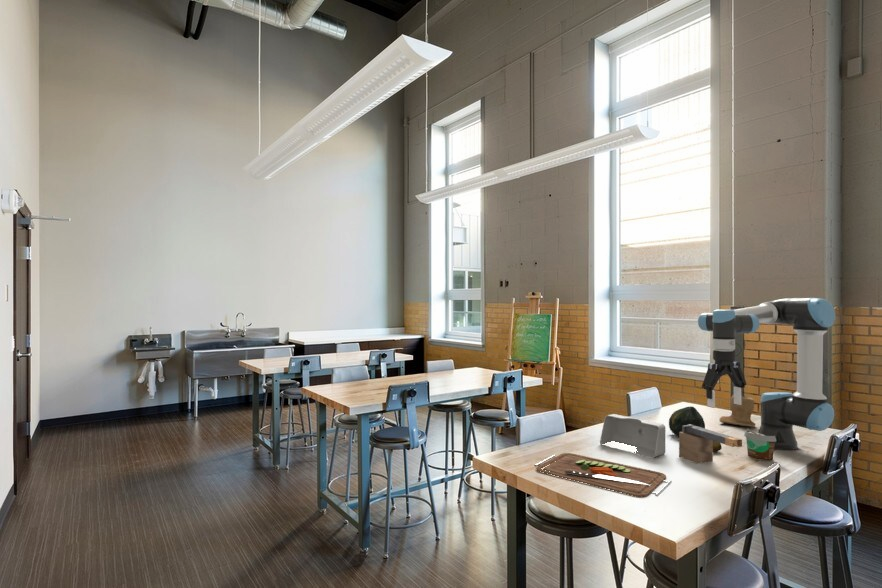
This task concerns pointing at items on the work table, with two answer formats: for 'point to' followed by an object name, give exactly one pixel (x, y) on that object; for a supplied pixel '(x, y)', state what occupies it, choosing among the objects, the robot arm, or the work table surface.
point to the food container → (760, 445)
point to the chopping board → (604, 474)
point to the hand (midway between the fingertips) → (724, 405)
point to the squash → (685, 419)
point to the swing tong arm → (711, 436)
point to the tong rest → (698, 446)
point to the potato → (716, 446)
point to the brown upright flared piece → (740, 413)
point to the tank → (635, 434)
